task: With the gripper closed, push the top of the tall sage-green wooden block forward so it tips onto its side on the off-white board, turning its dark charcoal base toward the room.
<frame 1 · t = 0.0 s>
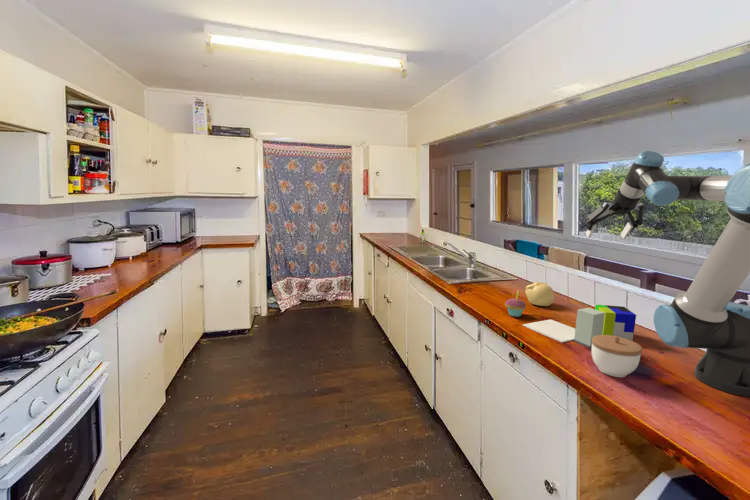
hand: (605, 236, 150), 36 cm above the worktop, tool tilted 35°, fingers open, 13 cm apart
sage block: (587, 343, 134), on the worktop
puzzle toy: (611, 335, 143), on the worktop
cupcake: (514, 315, 163), on the worktop
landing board: (555, 330, 146), on the worktop
sculpture: (539, 304, 179), on the worktop
lidded bowl: (612, 372, 114), on the worktop
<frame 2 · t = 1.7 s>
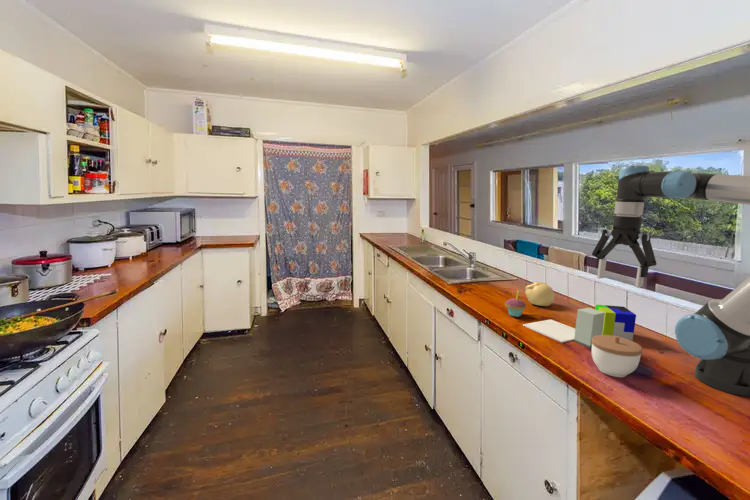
hand: (618, 282, 123), 24 cm above the worktop, tool pointing down, fingers open, 12 cm apart
nothing on the worktop moved.
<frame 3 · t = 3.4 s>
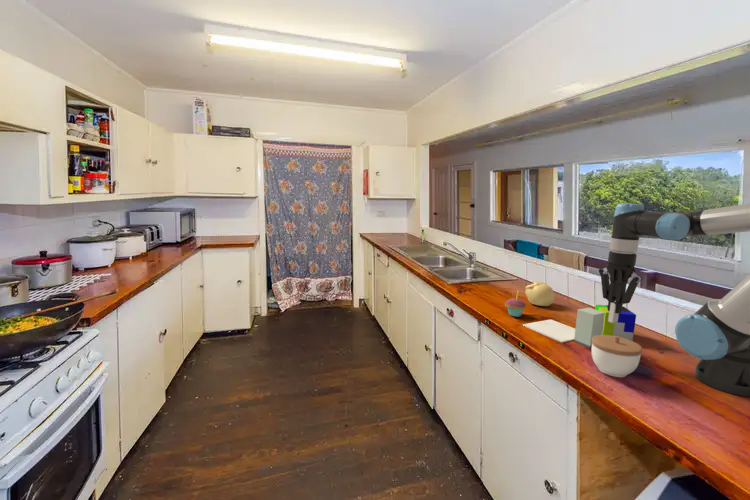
hand: (612, 321, 126), 11 cm above the worktop, tool pointing down, fingers closed
nothing on the worktop moved.
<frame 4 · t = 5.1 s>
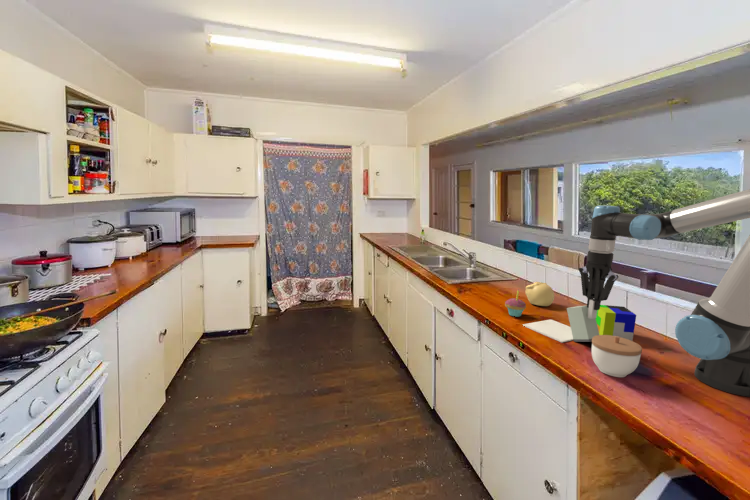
hand: (591, 317, 132), 10 cm above the worktop, tool pointing down, fingers closed
sage block: (587, 340, 134), point 1 cm above the worktop, tilted 21°
everything else where it was.
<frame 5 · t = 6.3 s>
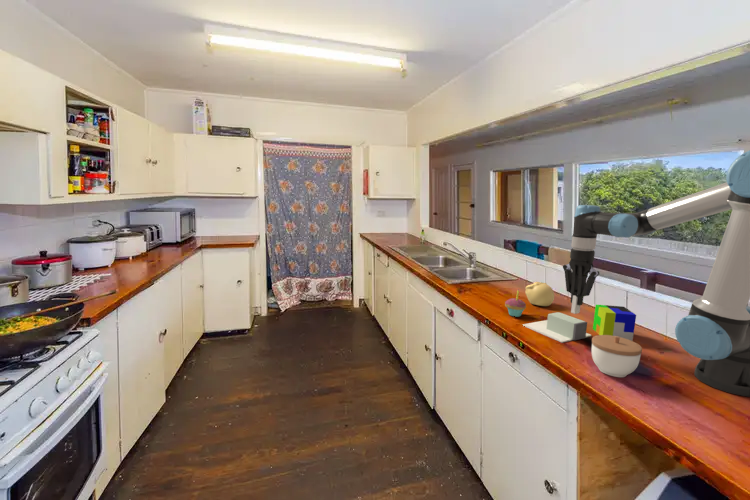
hand: (575, 312, 138), 10 cm above the worktop, tool pointing down, fingers closed
sage block: (580, 331, 136), point 3 cm above the worktop, tilted 90°, touching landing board
everything else where it was.
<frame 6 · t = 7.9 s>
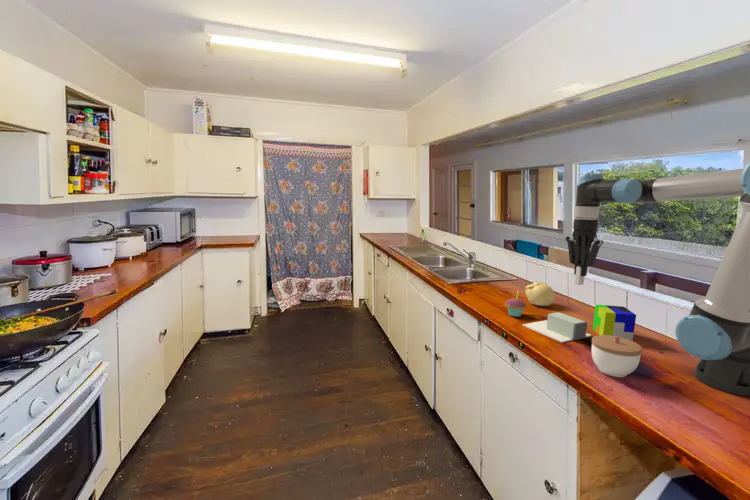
hand: (579, 284, 136), 20 cm above the worktop, tool pointing down, fingers closed
nothing on the worktop moved.
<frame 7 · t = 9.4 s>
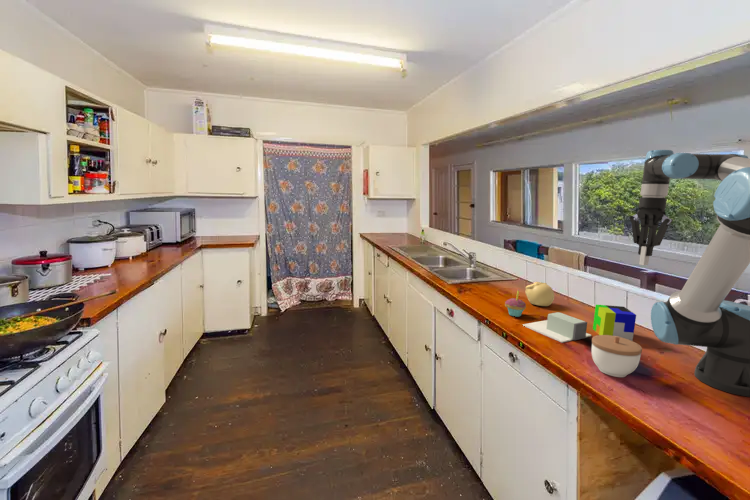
hand: (643, 264, 133), 28 cm above the worktop, tool pointing down, fingers closed
nothing on the worktop moved.
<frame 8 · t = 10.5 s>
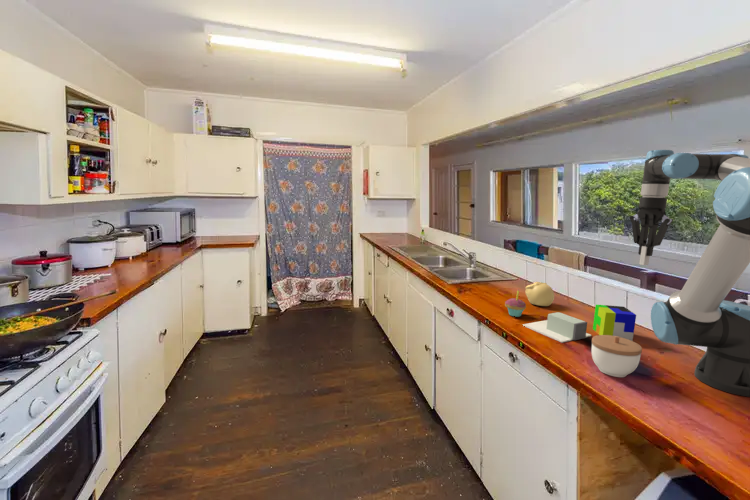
hand: (643, 264, 133), 28 cm above the worktop, tool pointing down, fingers closed
nothing on the worktop moved.
at the end: sage block tilted 90°; sage block inside the target area (1.2 cm from its centre), point 3.5 cm above the worktop; sage block touching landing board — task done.
